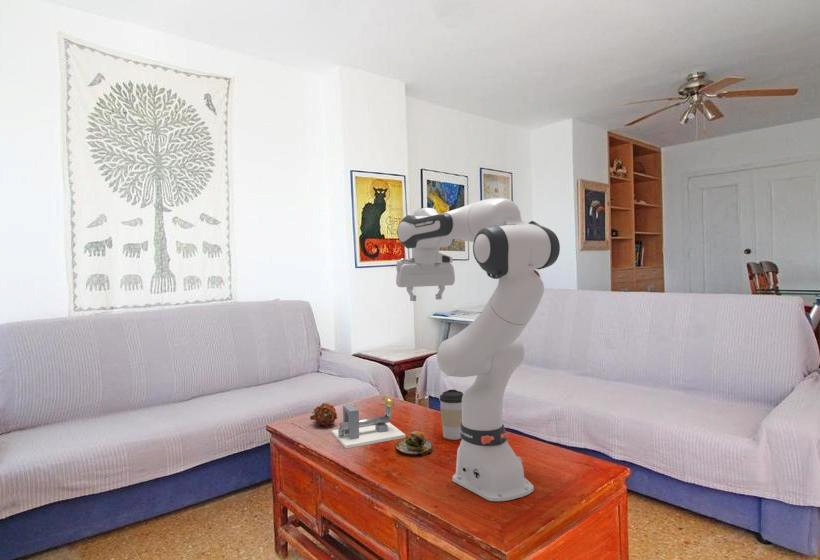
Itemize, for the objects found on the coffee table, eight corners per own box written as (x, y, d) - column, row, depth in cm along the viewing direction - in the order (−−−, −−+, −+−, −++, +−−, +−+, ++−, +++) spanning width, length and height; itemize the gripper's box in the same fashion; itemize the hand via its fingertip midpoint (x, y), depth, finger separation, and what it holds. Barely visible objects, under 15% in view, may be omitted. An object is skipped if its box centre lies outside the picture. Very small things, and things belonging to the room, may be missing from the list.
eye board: (387, 423, 180) (387, 395, 179) (405, 437, 165) (405, 407, 165) (331, 433, 171) (331, 403, 170) (345, 448, 156) (344, 416, 156)
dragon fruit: (331, 434, 174) (316, 430, 184) (347, 416, 179) (331, 413, 188) (316, 417, 172) (302, 414, 181) (332, 399, 176) (318, 397, 186)
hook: (388, 424, 174) (387, 395, 174) (394, 429, 169) (394, 399, 169) (335, 433, 166) (335, 403, 166) (341, 438, 161) (340, 407, 160)
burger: (391, 446, 158) (390, 423, 158) (425, 441, 162) (425, 419, 162) (402, 460, 147) (401, 436, 147) (438, 455, 151) (438, 431, 150)
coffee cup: (468, 440, 161) (467, 395, 161) (440, 440, 162) (439, 395, 161) (465, 431, 170) (464, 388, 170) (439, 431, 171) (438, 388, 170)
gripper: (400, 258, 154) (401, 302, 155) (456, 257, 163) (457, 299, 163) (392, 258, 160) (393, 301, 161) (447, 257, 169) (448, 298, 169)
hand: (426, 300), depth 162 cm, fingers open, 8 cm apart
